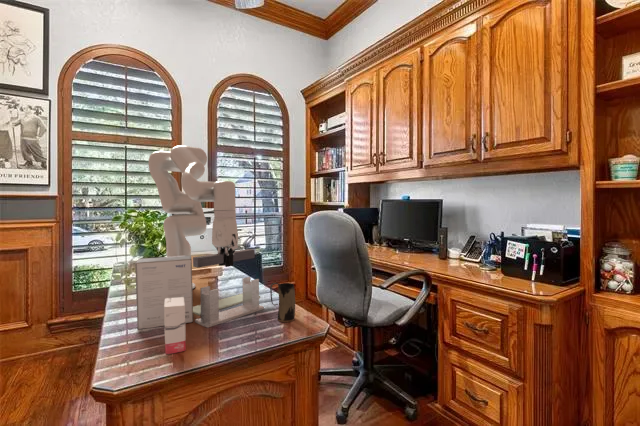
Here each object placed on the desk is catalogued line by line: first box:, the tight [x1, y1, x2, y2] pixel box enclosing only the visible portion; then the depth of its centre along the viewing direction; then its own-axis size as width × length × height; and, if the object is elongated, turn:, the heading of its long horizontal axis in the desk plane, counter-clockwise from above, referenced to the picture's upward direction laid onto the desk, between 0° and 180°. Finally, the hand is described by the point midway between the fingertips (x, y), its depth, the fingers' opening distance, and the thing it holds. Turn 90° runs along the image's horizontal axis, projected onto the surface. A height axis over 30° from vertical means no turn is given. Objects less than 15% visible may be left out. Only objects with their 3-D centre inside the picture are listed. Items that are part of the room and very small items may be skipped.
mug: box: [269, 282, 296, 323], centre depth 103 cm, size 8×6×12 cm
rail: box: [192, 248, 256, 268], centre depth 119 cm, size 3×24×3 cm, turn 141°
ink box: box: [164, 297, 187, 355], centre depth 85 cm, size 9×5×12 cm, turn 24°
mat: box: [193, 292, 261, 316], centre depth 120 cm, size 8×26×1 cm, turn 141°
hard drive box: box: [134, 254, 194, 330], centre depth 101 cm, size 16×8×20 cm, turn 111°
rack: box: [194, 276, 265, 329], centre depth 107 cm, size 7×22×11 cm, turn 141°
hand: (226, 265), depth 119 cm, fingers closed on rail, 3 cm apart
